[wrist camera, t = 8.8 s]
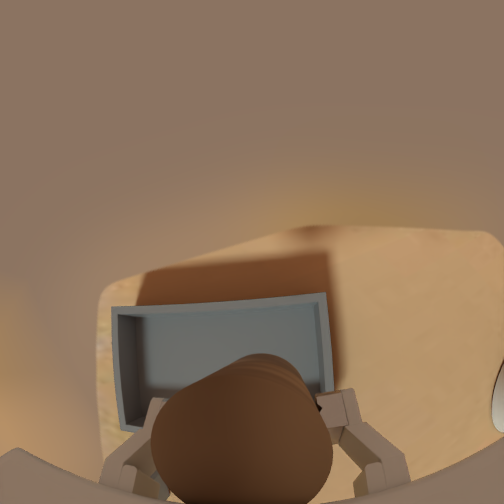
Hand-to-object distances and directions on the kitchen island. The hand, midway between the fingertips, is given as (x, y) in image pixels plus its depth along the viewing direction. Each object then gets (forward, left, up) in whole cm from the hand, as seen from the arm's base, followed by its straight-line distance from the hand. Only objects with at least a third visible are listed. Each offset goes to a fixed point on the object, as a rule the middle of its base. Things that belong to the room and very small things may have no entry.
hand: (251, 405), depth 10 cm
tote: (+5, +1, -19) cm, 20 cm away
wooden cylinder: (0, +1, -5) cm, 5 cm away
